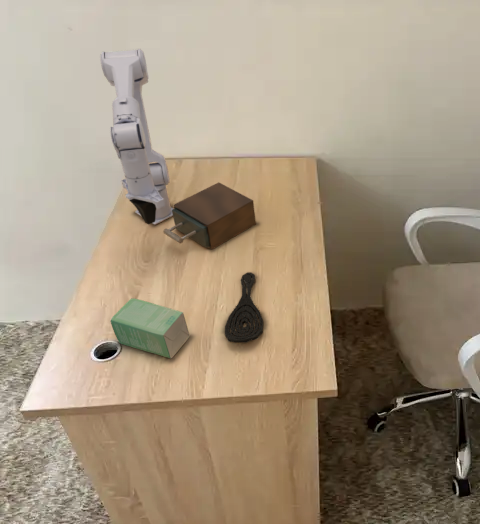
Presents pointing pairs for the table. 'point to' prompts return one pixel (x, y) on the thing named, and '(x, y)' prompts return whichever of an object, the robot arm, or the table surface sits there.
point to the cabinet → (220, 212)
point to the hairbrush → (244, 315)
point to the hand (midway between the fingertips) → (150, 221)
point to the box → (150, 327)
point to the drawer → (188, 229)
